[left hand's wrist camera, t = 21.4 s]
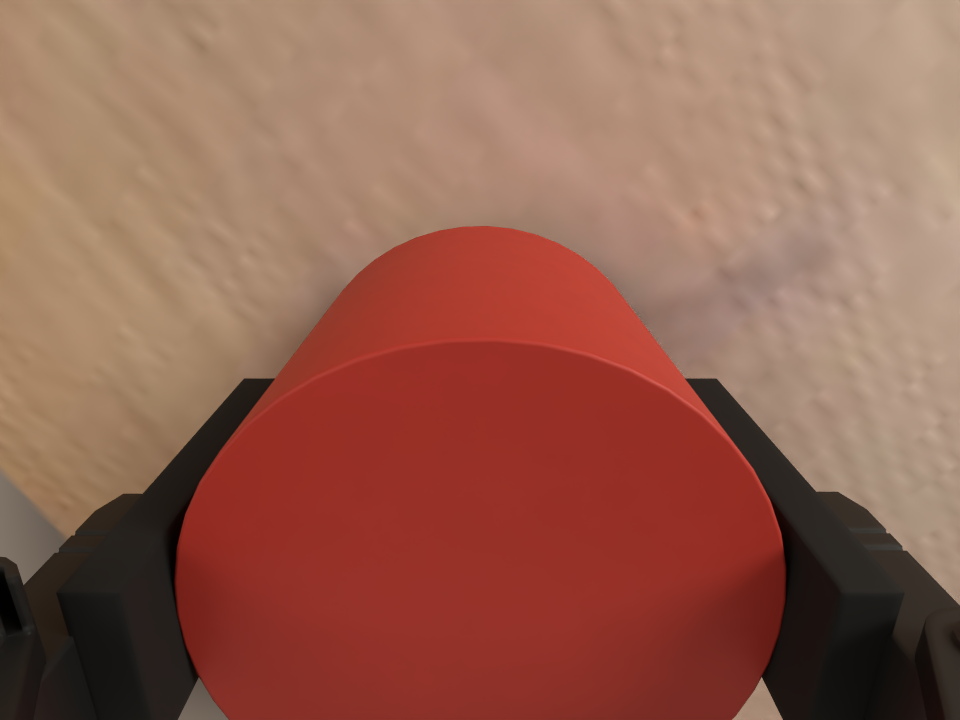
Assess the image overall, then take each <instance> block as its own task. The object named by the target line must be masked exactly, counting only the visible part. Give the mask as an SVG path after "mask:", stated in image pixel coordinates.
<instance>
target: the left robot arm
mask: <svg viewBox="0 0 960 720" xmlns="http://www.w3.org/2000/svg"><path fill="white" fill-rule="evenodd" d="M274 380H275V379H243V381H242V382H241V383H240V384H239V385H238V386H237V387H236V389H235V390H234V391H233V392H232V393H231V394H230V395H229V396H228V398H227V399H226V400H225V401H224V402H223V403H222V404H221V406H220V407H219V408H218V409H217V410H216V411H215V412H214V414H213V415H212V416H211V417H210V418H209V419H208V420H207V422H206V423H205V424H204V425H203V426H202V427H201V428H200V429H199V431H198V432H197V433H196V434H195V435H194V436H193V437H192V439H191V440H190V441H189V442H188V443H187V444H186V445H185V447H184V448H183V449H182V450H181V451H180V452H179V453H178V454H177V456H176V457H175V458H174V459H173V460H172V461H171V462H170V464H169V465H168V466H167V467H166V468H165V469H164V470H163V472H162V473H161V474H160V475H159V476H158V477H157V478H156V480H155V481H154V482H153V483H152V484H151V485H150V486H149V487H148V489H147V490H146V491H145V492H144V493H143V494H122V495H121V496H119V497H118V498H116V499H114V500H113V501H111V502H109V503H108V504H106V505H104V506H103V507H101V508H99V509H98V510H96V511H95V512H94V513H93V514H92V515H91V516H90V517H89V518H88V519H87V520H86V521H85V522H84V523H83V524H82V525H81V526H80V527H79V528H78V529H77V530H76V531H75V536H71V537H70V538H69V539H68V540H67V541H66V542H65V543H64V544H63V545H62V546H61V547H60V548H59V552H58V553H54V554H53V555H52V556H51V557H50V559H49V560H48V561H47V562H46V563H45V564H44V565H43V566H42V567H41V568H40V569H39V570H38V571H37V572H36V573H35V574H34V575H33V576H32V577H31V578H30V579H29V580H28V581H27V582H26V583H25V585H24V586H23V583H22V580H21V576H20V573H19V570H18V567H17V565H16V564H15V563H14V562H12V561H10V560H9V559H7V558H6V557H0V720H178V718H179V716H180V714H181V712H182V710H183V708H184V706H185V704H186V702H187V700H188V698H189V696H190V694H191V692H192V690H193V688H194V686H195V684H196V681H197V680H198V678H199V676H198V674H197V672H196V670H195V668H194V665H193V663H192V661H191V658H190V656H189V654H188V651H187V649H186V647H185V644H184V640H183V636H182V632H181V628H180V624H179V620H178V616H177V609H176V598H175V586H174V576H175V564H176V552H177V545H178V541H179V537H180V533H181V529H182V525H183V521H184V517H185V514H186V511H187V509H188V507H189V505H190V502H191V500H192V498H193V496H194V493H195V491H196V489H197V487H198V484H199V482H200V481H201V479H202V478H203V476H204V475H205V473H206V471H207V470H208V468H209V467H210V465H211V464H212V462H213V461H214V459H215V458H216V456H217V455H218V453H219V452H220V450H221V449H222V448H223V446H224V445H225V444H226V442H227V441H228V440H229V439H230V437H231V436H232V435H233V433H234V432H235V431H236V429H237V428H238V427H239V425H240V424H241V423H242V422H243V420H244V419H245V418H246V416H247V415H248V414H249V412H250V411H251V410H252V408H253V407H254V406H255V405H256V403H257V402H258V401H259V399H260V398H261V397H262V395H263V394H264V393H265V391H266V390H267V389H268V388H269V386H270V385H271V384H272V382H273V381H274ZM685 380H686V381H687V382H688V383H689V385H690V386H691V387H692V389H693V390H694V391H695V393H696V394H697V395H698V397H699V398H700V399H701V401H702V402H703V403H704V404H705V406H706V407H707V408H708V410H709V411H710V412H711V414H712V415H713V416H714V418H715V419H716V420H717V421H718V423H719V424H720V425H721V427H722V428H723V429H724V431H725V432H726V433H727V435H728V436H729V437H730V439H731V440H732V441H733V442H734V444H735V445H736V446H737V448H738V449H739V450H740V452H741V453H742V454H743V456H744V457H745V458H746V460H747V461H748V462H749V464H750V465H751V466H752V468H753V469H754V471H755V473H756V475H757V476H758V478H759V480H760V482H761V484H762V486H763V488H764V490H765V492H766V494H767V495H768V497H769V499H770V501H771V504H772V507H773V510H774V513H775V516H776V519H777V522H778V525H779V528H780V531H781V535H782V542H783V549H784V555H785V562H786V602H785V608H784V613H783V618H782V624H781V629H780V633H779V636H778V639H777V642H776V645H775V648H774V650H773V653H772V656H771V659H770V662H769V664H768V666H767V667H766V669H765V671H764V673H763V675H762V678H763V680H764V682H765V684H766V686H767V688H768V690H769V692H770V694H771V696H772V698H773V700H774V702H775V704H776V706H777V708H778V710H779V712H780V715H781V717H782V719H783V720H960V605H959V604H958V603H957V602H956V601H955V600H954V599H953V598H952V597H951V596H950V595H949V594H948V593H947V592H946V591H945V590H944V589H943V588H942V587H941V586H940V585H939V584H938V583H937V582H936V581H935V580H934V579H933V578H932V576H931V575H930V574H929V573H928V572H927V571H926V570H925V569H924V568H923V567H922V566H921V565H920V564H919V563H918V562H917V561H916V560H915V559H914V558H913V557H912V556H911V555H910V554H909V553H908V552H907V551H903V549H902V545H901V544H900V543H899V542H898V541H897V540H896V539H895V538H894V537H893V536H892V535H891V534H887V533H886V529H885V528H884V527H883V526H882V525H881V524H880V523H879V522H878V521H877V520H876V519H875V518H874V517H873V516H872V514H871V513H870V512H869V511H868V510H867V509H865V508H864V507H862V506H860V505H859V504H857V503H855V502H854V501H852V500H850V499H849V498H847V497H845V496H844V495H842V494H840V493H839V492H816V491H815V490H814V489H813V488H812V487H811V485H810V484H809V483H808V482H807V481H806V480H805V479H804V478H803V476H802V475H801V474H800V473H799V472H798V471H797V470H796V468H795V467H794V466H793V465H792V464H791V463H790V462H789V460H788V459H787V458H786V457H785V456H784V455H783V454H782V453H781V451H780V450H779V449H778V448H777V447H776V446H775V445H774V443H773V442H772V441H771V440H770V439H769V438H768V437H767V435H766V434H765V433H764V432H763V431H762V430H761V429H760V428H759V426H758V425H757V424H756V423H755V422H754V421H753V420H752V418H751V417H750V416H749V415H748V414H747V413H746V412H745V410H744V409H743V408H742V407H741V406H740V405H739V404H738V403H737V401H736V400H735V399H734V398H733V397H732V396H731V395H730V393H729V392H728V391H727V390H726V389H725V388H724V387H723V385H722V384H721V383H720V382H719V381H718V380H717V379H685Z"/></svg>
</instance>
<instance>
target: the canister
mask: <svg viewBox="0 0 960 720" xmlns="http://www.w3.org/2000/svg"><path fill="white" fill-rule="evenodd" d="M174 586H175V598H176V609H177V616H178V620H179V624H180V628H181V632H182V636H183V640H184V644H185V647H186V649H187V651H188V654H189V656H190V658H191V661H192V663H193V665H194V668H195V670H196V672H197V674H198V676H199V678H200V679H201V681H202V683H203V684H204V686H205V688H206V689H207V691H208V692H209V694H210V696H211V697H212V699H213V701H214V702H215V703H216V704H217V706H218V707H219V708H220V709H221V710H222V712H223V713H224V714H225V715H226V717H227V718H228V719H229V720H732V719H733V718H734V717H735V716H736V715H737V713H738V712H739V711H740V709H741V708H742V707H743V705H744V704H745V702H746V701H747V700H748V698H749V697H750V695H751V694H752V693H753V691H754V690H755V688H756V686H757V684H758V683H759V681H760V679H761V677H762V675H763V673H764V671H765V669H766V667H767V666H768V664H769V662H770V659H771V656H772V653H773V650H774V648H775V645H776V642H777V639H778V636H779V633H780V629H781V624H782V618H783V613H784V608H785V602H786V562H785V555H784V549H783V542H782V535H781V531H780V528H779V525H778V522H777V519H776V516H775V513H774V510H773V507H772V504H771V501H770V499H769V497H768V495H767V494H766V492H765V490H764V488H763V486H762V484H761V482H760V480H759V478H758V476H757V475H756V473H755V471H754V469H753V468H752V466H751V465H750V464H749V462H748V461H747V460H746V458H745V457H744V456H743V454H742V453H741V452H740V450H739V449H738V448H737V446H736V445H735V444H734V442H733V441H732V440H731V439H730V437H729V436H728V435H727V433H726V432H725V431H724V429H723V428H722V427H721V425H720V424H719V423H718V421H717V420H716V419H715V418H714V416H713V415H712V414H711V412H710V411H709V410H708V408H707V407H706V406H705V404H704V403H703V402H702V401H701V399H700V398H699V397H698V395H697V394H696V393H695V391H694V390H693V389H692V387H691V386H690V385H689V383H688V382H687V381H686V380H685V378H684V377H683V376H682V374H681V373H680V372H679V370H678V369H677V368H676V366H675V365H674V364H673V363H672V361H671V360H670V359H669V357H668V356H667V355H666V353H665V352H664V351H663V349H662V348H661V347H660V345H659V344H658V343H657V342H656V340H655V339H654V338H653V336H652V335H651V334H650V332H649V331H648V330H647V328H646V327H645V326H644V325H643V323H642V322H641V321H640V319H639V318H638V317H637V315H636V314H635V313H634V311H633V310H632V309H631V308H630V306H629V305H628V304H627V302H626V301H625V300H624V298H623V297H622V296H621V294H620V293H619V292H618V290H617V289H616V288H615V287H614V285H613V284H612V283H611V282H610V281H609V280H608V279H607V278H606V277H605V276H604V275H603V274H602V273H601V272H600V271H599V270H598V269H597V268H596V267H594V266H593V265H592V264H590V263H589V262H588V261H586V260H585V259H584V258H582V257H581V256H580V255H578V254H576V253H575V252H573V251H571V250H569V249H567V248H566V247H564V246H562V245H560V244H558V243H556V242H553V241H551V240H548V239H546V238H543V237H541V236H538V235H535V234H531V233H527V232H523V231H519V230H515V229H509V228H500V227H490V226H477V227H459V228H453V229H447V230H441V231H437V232H433V233H430V234H427V235H423V236H420V237H417V238H414V239H412V240H410V241H408V242H405V243H403V244H401V245H399V246H397V247H394V248H393V249H391V250H390V251H388V252H386V253H385V254H383V255H382V256H380V257H378V258H377V259H375V260H374V261H373V262H372V263H370V264H369V265H368V266H367V267H366V268H364V269H363V270H362V271H361V272H360V273H358V274H357V275H356V276H355V278H354V279H353V280H352V281H351V282H350V283H349V284H348V285H347V286H346V288H345V289H344V290H343V291H342V292H341V293H340V295H339V296H338V297H337V299H336V300H335V301H334V303H333V304H332V305H331V307H330V308H329V309H328V310H327V312H326V313H325V314H324V316H323V317H322V318H321V320H320V321H319V322H318V324H317V325H316V326H315V327H314V329H313V330H312V331H311V333H310V334H309V335H308V337H307V338H306V339H305V341H304V342H303V343H302V344H301V346H300V347H299V348H298V350H297V351H296V352H295V354H294V355H293V356H292V357H291V359H290V360H289V361H288V363H287V364H286V365H285V367H284V368H283V369H282V371H281V372H280V373H279V374H278V376H277V377H276V378H275V380H274V381H273V382H272V384H271V385H270V386H269V388H268V389H267V390H266V391H265V393H264V394H263V395H262V397H261V398H260V399H259V401H258V402H257V403H256V405H255V406H254V407H253V408H252V410H251V411H250V412H249V414H248V415H247V416H246V418H245V419H244V420H243V422H242V423H241V424H240V425H239V427H238V428H237V429H236V431H235V432H234V433H233V435H232V436H231V437H230V439H229V440H228V441H227V442H226V444H225V445H224V446H223V448H222V449H221V450H220V452H219V453H218V455H217V456H216V458H215V459H214V461H213V462H212V464H211V465H210V467H209V468H208V470H207V471H206V473H205V475H204V476H203V478H202V479H201V481H200V482H199V484H198V487H197V489H196V491H195V493H194V496H193V498H192V500H191V502H190V505H189V507H188V509H187V511H186V514H185V517H184V521H183V525H182V529H181V533H180V537H179V541H178V545H177V552H176V564H175V576H174Z"/></svg>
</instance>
